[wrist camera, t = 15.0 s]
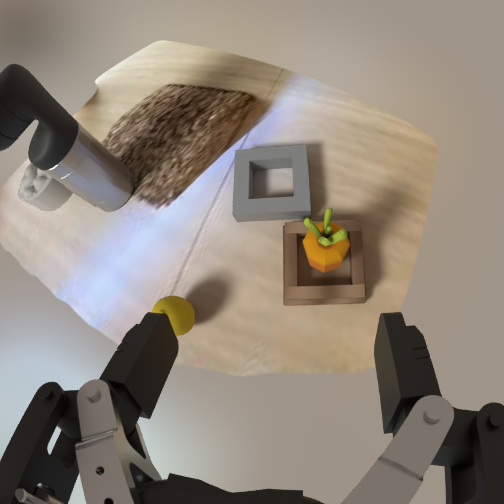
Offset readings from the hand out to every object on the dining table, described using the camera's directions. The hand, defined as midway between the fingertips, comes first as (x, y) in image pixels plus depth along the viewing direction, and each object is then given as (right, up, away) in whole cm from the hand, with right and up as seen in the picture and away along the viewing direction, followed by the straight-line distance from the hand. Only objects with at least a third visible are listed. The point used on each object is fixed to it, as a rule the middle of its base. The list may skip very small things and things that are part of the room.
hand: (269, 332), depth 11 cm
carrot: (+9, +1, +29) cm, 31 cm away
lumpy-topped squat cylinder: (-45, +17, +47) cm, 67 cm away
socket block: (+3, +13, +35) cm, 38 cm away
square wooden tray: (+9, +1, +31) cm, 32 cm away
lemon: (-10, -7, +33) cm, 35 cm away
